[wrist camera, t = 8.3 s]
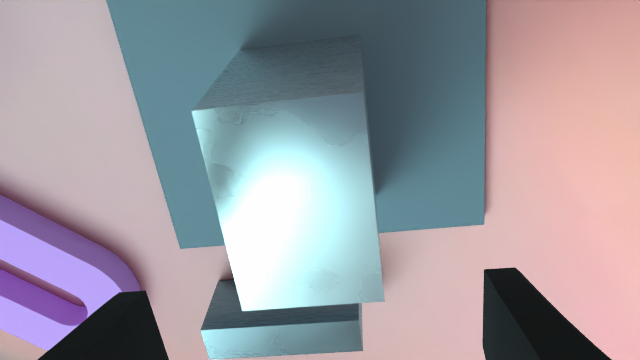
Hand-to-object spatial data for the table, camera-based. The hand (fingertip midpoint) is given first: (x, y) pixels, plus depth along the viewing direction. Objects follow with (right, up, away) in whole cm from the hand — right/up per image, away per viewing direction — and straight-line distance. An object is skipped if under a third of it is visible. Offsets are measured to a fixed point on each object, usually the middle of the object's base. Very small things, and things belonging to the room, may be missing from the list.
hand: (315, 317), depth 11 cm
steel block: (0, +5, +7) cm, 9 cm away
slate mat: (0, +5, +8) cm, 9 cm away
